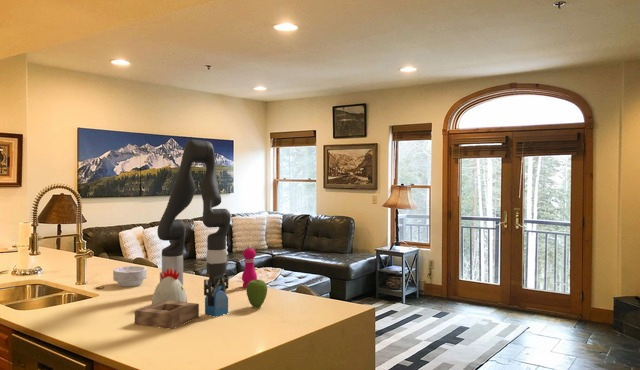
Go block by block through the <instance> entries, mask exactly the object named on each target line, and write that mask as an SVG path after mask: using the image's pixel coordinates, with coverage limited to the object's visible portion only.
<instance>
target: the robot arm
mask: <svg viewBox="0 0 640 370" xmlns="http://www.w3.org/2000/svg"><path fill="white" fill-rule="evenodd" d="M214 149H215V147H214V145H213V144H212V143H211V141H207V140H202V139H201V140H200V139H188V141H186V144H185V146H184V149H183V152H182V157H181V162H180V164H179V168H178V172H177V176H176V178H175V181H174V184H173V186H172V188H171V192H170V196H169V199H168V202H167V204H166V207H165V210H164V212H163V214H162V215H161V218H160V220H159V223H158V226H157V237H158V239H159V240H160V241H172V242H171V243H170V244H169V245H168V246H166V247H163V248H162V250H161V272H159V282H160V281H161V280H162V278H161V275H160V274H162V275H163V276H164V271H165V272H166V273H167V269H168V268H169V272H170V270H171V269H172V270H173V274H174V271H175V269H176V271H177V274H178V273H179V272H180V274H179V276H178V278H177V279H178V280H179V281H180V282H181V284H182V285H183V286H184V250H185V238H186V237H185V236H186V234H185V233H186V228H185V222H184V221H183V220H182V219H180V218H177V217H178V216H179V215H180V214H181V213H182V212H183V211H185V210H186V209H187V207H188V206H190V204H191V203H192V201H193V198H194V195H195V193H196V190H197V188H196V183H195V181H194V178H193V175H192V171H191V170H192V165H193V164H194V163H197V164H198V163H199V164H204V165H205V171H204V172H205V173H204V175H203V177H202V179H201V182H200V187H199V188H200V194H201V199H202V202H203V203H202V208H203V209H202V217H201V218H202V224H203V225H204V226H205V227H206V228H218V229H217V231H216V232H213V233H210V234H208V235H207V239H206V242H207V243H206V244H207V245H206V246H207V247H206V249H207V250H206V274H207V275H208V276H209V277H208V279H204V280H203V296H205V297H206V296H208V306H211V307H212V306H214V293H215V291H216V290H217V288H218V284H219V283H220V282H221V284H220V286H221V289H220V290H221V291H224V292H225V293H226V292H227V289H229V273H227V267H228V264H227V258H228V257H227V237H228V236H227V235H228V231H229V228H230V223H231V220H232V217H231V213H230V211H229V210H228V208H217V207H218V206H219V205H221V203H222V196H221V193H220V188H219V185H218V184H219V183H218V179H217V167H216V165H217V164H216V156H215V150H214ZM215 207H216V208H215ZM176 218H177V219H176ZM211 291H212V293H211Z"/></svg>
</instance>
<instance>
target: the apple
mask: <svg viewBox="0 0 640 370" xmlns="http://www.w3.org/2000/svg"><path fill="white" fill-rule="evenodd" d="M245 290H246V291H245V292H246V296H247V298H248V302H249V304H250V305H251V306H252V307H253V308H257V309H258V308H259V307H260V308H261V307H262V306H263V304H264V302H265V299H266V297H267V295H268V294H267V293H268V285H267V283H266V281H264V280H261V279H257V280H252V281H250V282H249V283H248V284H247V287H246V288H245Z"/></svg>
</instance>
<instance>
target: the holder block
mask: <svg viewBox="0 0 640 370" xmlns="http://www.w3.org/2000/svg"><path fill="white" fill-rule="evenodd" d="M199 305H200V304H199V303H197V302H196V303H195V302H188V301H187V302H177V301H167V300H162V301H159V302H156V303H154V304H152V303H151V304H148V305H146V306H143V307H141V308H138V309H135V310H134V325H136V326H144V327H152V328H158V327H160V328H159V329H166V328H170V329H169V330H174V329H176V328H175V327H177V328H179V327H180V325H181V326H183V325H185V324H187V323H189V322H191V321H194V320H195V318H196V319H198V318H200V317H199V316H200V313H199V311H200V306H199ZM197 317H198V318H197ZM193 319H194V320H193ZM190 320H191V321H190ZM188 321H189V322H188ZM186 322H187V323H186ZM184 323H185V324H184ZM182 324H183V325H182ZM178 326H179V327H178Z"/></svg>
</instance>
